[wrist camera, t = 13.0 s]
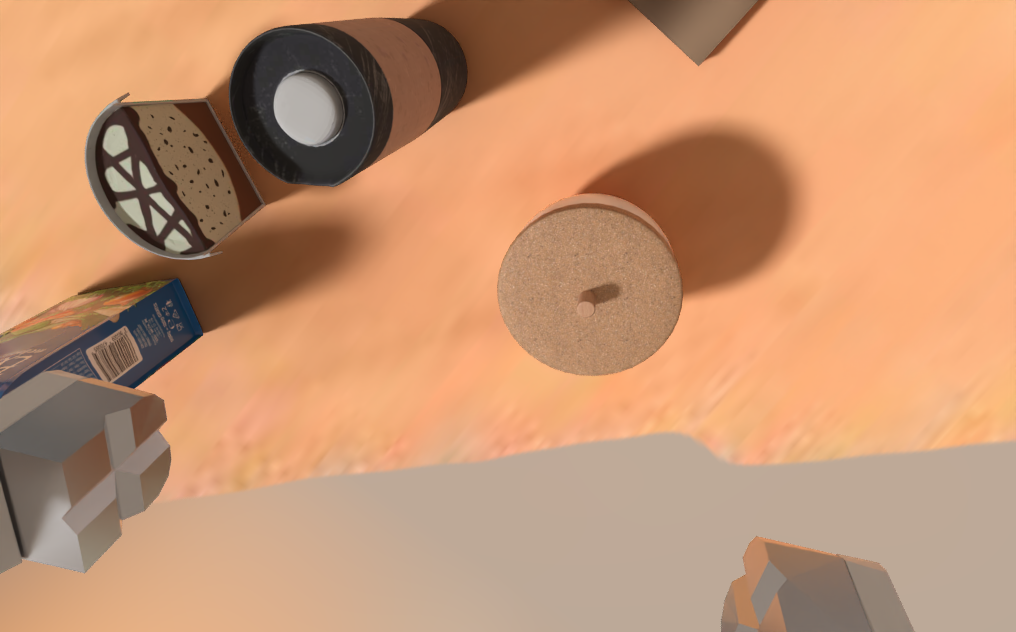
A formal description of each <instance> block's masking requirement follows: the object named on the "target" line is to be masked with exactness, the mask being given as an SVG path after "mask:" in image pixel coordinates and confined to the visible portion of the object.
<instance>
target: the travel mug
mask: <svg viewBox="0 0 1016 632" xmlns="http://www.w3.org/2000/svg"><path fill="white" fill-rule="evenodd" d="M466 83H467V65H466V60H465V57H464V54H463V51H462V49H461V47H460V45H459V44H458V42H457V41H456V39H455V38H454V37H453V36H452V35H451V34H450V33H449V32H448V31H447V30H446V29H444V28H443V27H441V26H440V25H438V24H436V23H433V22H430V21H426V20H420V19H403V18H365V19H354V20H344V21H333V22H323V23H312V24H301V25H290V26H283V27H278V28H274V29H271V30H269V31H266V32H264V33H262V34H261V35H259V36H257V37H256V38H254V39H253V40H252V41H251V42H250V43H249V44H248V45H247V46H246V47H245V48H244V49H243V50H242V52H241V54H240V55H239V57H238V58H237V61H236V63H235V65H234V67H233V71H232V74H231V78H230V84H229V104H230V111H231V115H232V119H233V122H234V125H235V128H236V130H237V133H238V135H239V137H240V139H241V141H242V142H243V144H244V146H245V147H246V149H247V150H248V151H249V153H250V154H251V155H252V157H253V158H254V159H255V160H256V161H257V162H258V163H259V164H260V165H261V166H262V167H263V168H264V169H266V170H267V171H268V172H269V173H271V174H272V175H274V176H275V177H277V178H278V179H280V180H282V181H284V182H286V183H290V184H306V185H315V186H331V187H334V186H337V185H339V184H341V183H343V182H345V181H347V180H348V179H350V178H351V177H353V176H355V175H356V174H358V173H360V172H361V171H363V170H365V169H366V168H368V167H370V166H371V165H373V164H375V163H376V162H378V161H380V160H381V159H383V158H385V157H386V156H388V155H390V154H391V153H393V152H395V151H396V150H398V149H400V148H401V147H403V146H405V145H406V144H408V143H410V142H411V141H413V140H415V139H416V138H418V137H419V136H420V135H422V134H423V133H424V132H426V131H427V130H428V129H430V128H431V127H432V126H433V125H435V124H436V123H437V122H438V121H440V120H441V119H442V118H444V117H445V116H446V115H447V114H448V113H450V112H451V111H452V110H453V109H454V108H455V107H456V105H457V104H458V103H459V101H460V100H461V98H462V96H463V94H464V91H465V88H466Z"/></svg>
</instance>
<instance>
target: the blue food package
mask: <svg viewBox="0 0 1016 632" xmlns="http://www.w3.org/2000/svg"><path fill="white" fill-rule="evenodd" d="M201 336H203V332H202V329H201V327H200V324H199V322H198V320H197V318H196V315H195V313H194V311H193V309H192V307H191V304H190V302H189V300H188V298H187V296H186V293H185V291H184V289H183V287H182V285H181V283H180V281H179V279H178V278H176V279H170V280H161V281H152V282H147V283H141V284H136V285H130V286H123V287H116V288H109V289H102V290H97V291H93V292H88V293H85V294H81V295H75V296H72V297H70V298H68V299H66V300H64V301H62V302H60V303H58V304H57V305H55V306H53V307H51V308H49V309H47V310H45V311H43V312H41V313H39V314H38V315H36V316H34V317H32V318H30V319H28V320H26V321H24V322H22V323H21V324H19V325H17V326H15V327H13V328H11V329H9V330H7V331H5V332H3V333H2V334H0V399H1V398H3V397H4V396H6V395H7V394H9V393H11V392H12V391H14V390H16V389H17V388H19V387H20V386H22V385H24V384H25V383H27V382H28V381H30V380H32V379H33V378H35V377H36V376H38V375H40V374H41V373H43V372H45V371H53V370H61V371H65V372H69V373H72V374H76V375H80V376H84V377H87V378H94V379H98V380H102V381H106V382H110V383H113V384H117V385H121V386H125V387H129V388H133V389H135V388H136V387H137V386H139V385H140V384H141V383H142V382H144V381H145V380H146V379H147V378H149V377H150V376H151V375H153V374H154V373H155V372H156V371H158V370H159V369H160V368H162V367H163V366H164V365H165V364H167V363H168V362H169V361H171V360H172V359H173V358H174V357H176V356H177V355H178V354H180V353H181V352H182V351H183V350H185V349H186V348H187V347H188V346H190V345H191V344H192V343H194V342H195V341H196V340H197V339H199V338H200V337H201Z"/></svg>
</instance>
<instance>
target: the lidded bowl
mask: <svg viewBox="0 0 1016 632" xmlns="http://www.w3.org/2000/svg"><path fill="white" fill-rule="evenodd" d="M497 291H498V302H499V307H500V312H501V314H502V317H503V320H504V322H505V324H506V326H507V328H508V330H509V331H510V333H511V335H512V336H513V337H514V339H515V340H516V341H517V342H518V344H519V345H520V346H521V347H522V348H523V349H524V350H525V351H527V352H528V353H529V354H530V355H531V356H533V357H534V358H536V359H537V360H538V361H540V362H542V363H544V364H546V365H548V366H550V367H552V368H554V369H557V370H560V371H563V372H566V373H571V374H576V375H586V376H598V375H608V374H613V373H617V372H621V371H624V370H626V369H629V368H632V367H634V366H636V365H638V364H640V363H641V362H643V361H645V360H646V359H648V358H649V357H650V356H652V355H653V354H654V353H655V352H656V351H657V350H658V349H659V348H660V347H661V346H662V345H663V344H664V343H665V342H666V340H667V339H668V338H669V336H670V335H671V333H672V332H673V330H674V327H675V325H676V323H677V321H678V318H679V315H680V311H681V308H682V298H683V288H682V278H681V274H680V270H679V266H678V262H677V260H676V258H675V256H674V253H673V250H672V248H671V246H670V243H669V241H668V239H667V237H666V236H665V234H664V233H663V231H662V230H661V228H660V227H659V225H658V224H657V223H656V222H655V221H654V220H653V219H652V218H651V217H650V216H649V215H648V214H647V213H646V212H644V211H643V210H642V209H640V208H639V207H638V206H636V205H634V204H632V203H630V202H628V201H626V200H624V199H621V198H618V197H615V196H612V195H606V194H599V193H587V194H579V195H574V196H571V197H567V198H564V199H561V200H559V201H557V202H555V203H553V204H551V205H549V206H547V207H546V208H544V209H543V210H542V211H540V212H539V213H538V214H537V215H535V216H534V217H533V218H532V219H531V220H530V221H529V222H528V223H527V224H526V225H525V227H524V228H523V229H522V231H521V232H520V233H519V235H518V236H517V237H516V239H515V240H514V241H513V243H512V244H511V245H510V247H509V249H508V251H507V253H506V255H505V257H504V259H503V262H502V265H501V268H500V271H499V277H498V285H497Z"/></svg>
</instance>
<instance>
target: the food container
mask: <svg viewBox="0 0 1016 632" xmlns="http://www.w3.org/2000/svg"><path fill="white" fill-rule="evenodd" d="M129 95H130V94H129V93H127V94H125V95H123V96H121V97H120V98H118V99H116V100H115V101H113V102H112V103H110V104H109V105H108V106H107V107H106V108H105V109H104V110H103V111H102V112H101V113H100V114H99V116H98V117H97V118H96V119H95V121H94V122H93V124H92V126H91V128H90V130H89V133H88V136H87V140H86V146H85V166H86V173H87V177H88V180H89V184H90V187H91V189H92V191H93V194H94V196H95V198H96V200H97V202H98V204H99V205H100V207H101V209H102V210H103V212H104V213H105V215H106V216H107V217H108V219H109V220H110V221H111V222H112V223H113V225H114V226H115V227H116V228H117V229H118V230H119V231H120V232H121V233H122V234H124V235H125V236H126V237H127V238H128V239H129V240H131V241H132V242H134V243H135V244H137V245H138V246H140V247H142V248H144V249H145V250H147V251H149V252H151V253H154V254H157V255H159V256H163V257H167V258H172V259H185V260H193V259H202V258H206V257H210V256H214V255H217V254H221V253H223V251H220V252H215V253H210V252H211V251H212V250H213V249H214V248H215V247H217V246H218V245H219V244H220V243H221V242H223V241H224V240H225V239H226V238H227V237H229V236H230V235H231V234H232V233H233V232H234V231H236V230H237V229H238V228H239V227H240V226H242V225H243V224H244V223H245V222H246V221H248V220H249V219H250V218H251V217H252V216H254V215H255V214H256V213H257V212H258V211H259V210H261V209H262V208H263V207H264V206H265V203H264V201H263V199H262V197H261V196H260V194H259V192H258V190H257V188H256V186H255V185H254V183H253V181H252V179H251V177H250V175H249V174H248V172H247V170H246V168H245V166H244V165H243V163H242V161H241V159H240V157H239V155H238V154H237V152H236V150H235V148H234V146H233V145H232V143H231V141H230V139H229V137H228V135H227V134H226V132H225V130H224V128H223V126H222V124H221V123H220V121H219V119H218V117H217V115H216V114H215V112H214V110H213V108H212V106H211V104H210V103H209V101H208V99H207V98H206V99H185V100H165V101H144V102H124V103H121V101H122V100H123V99H125V98H126V97H127V96H129Z"/></svg>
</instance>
